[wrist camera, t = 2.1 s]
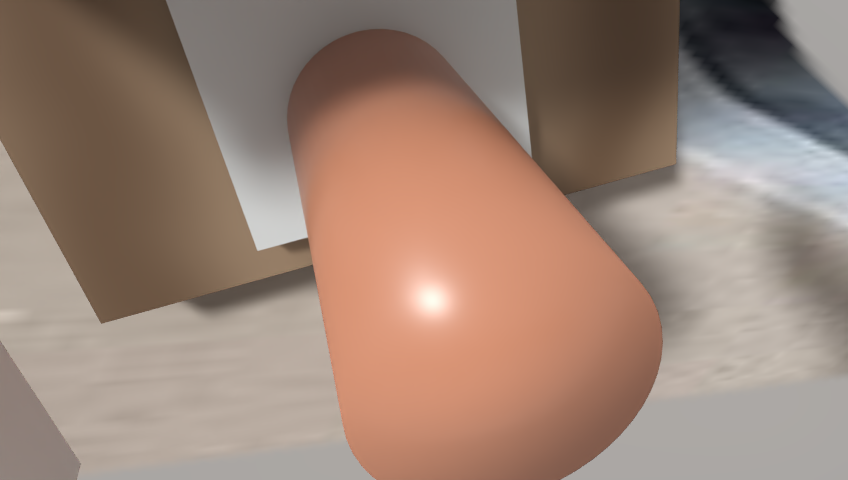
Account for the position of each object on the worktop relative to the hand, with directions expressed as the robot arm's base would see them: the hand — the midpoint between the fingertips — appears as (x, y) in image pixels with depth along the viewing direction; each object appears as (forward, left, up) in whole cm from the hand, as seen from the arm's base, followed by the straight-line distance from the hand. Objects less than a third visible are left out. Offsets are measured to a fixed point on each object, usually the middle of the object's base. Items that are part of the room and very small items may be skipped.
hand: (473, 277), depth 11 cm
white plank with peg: (0, +7, -7) cm, 10 cm away
